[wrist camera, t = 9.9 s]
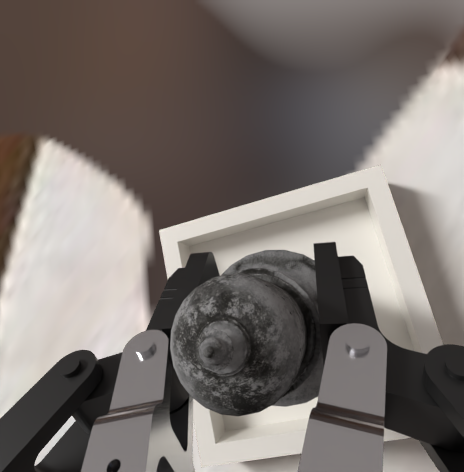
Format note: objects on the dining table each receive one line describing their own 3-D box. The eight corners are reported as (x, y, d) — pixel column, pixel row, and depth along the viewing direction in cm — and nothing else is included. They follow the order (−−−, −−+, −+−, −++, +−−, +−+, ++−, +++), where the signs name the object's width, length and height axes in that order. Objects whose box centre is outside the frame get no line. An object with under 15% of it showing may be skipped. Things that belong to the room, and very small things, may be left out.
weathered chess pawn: (337, 251, 17) (365, 145, 6) (359, 381, 16) (453, 580, 4) (219, 268, 18) (49, 208, 7) (232, 390, 17) (49, 559, 6)
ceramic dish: (375, 179, 21) (381, 164, 19) (453, 412, 18) (472, 429, 16) (175, 237, 24) (159, 230, 21) (215, 448, 21) (201, 467, 18)
